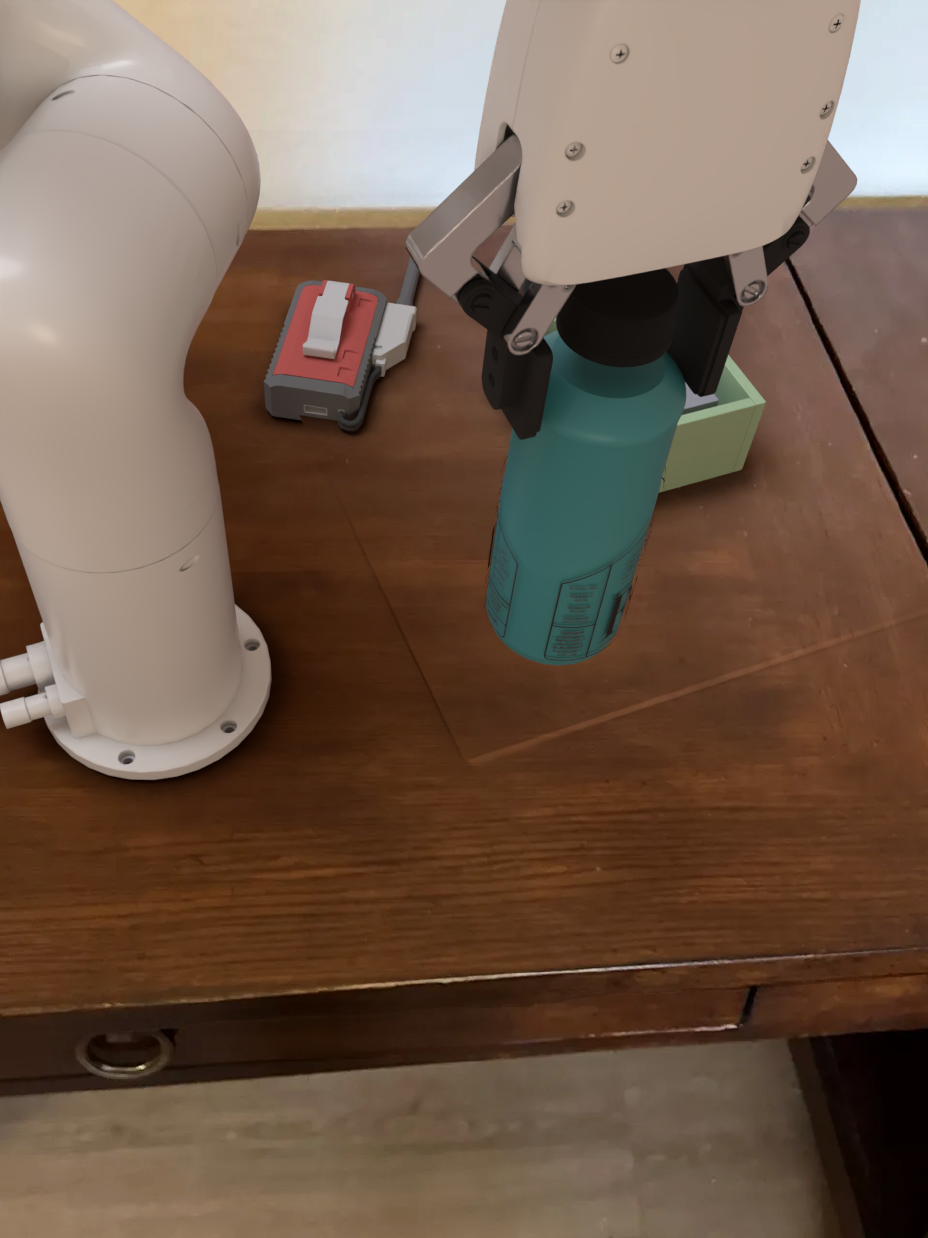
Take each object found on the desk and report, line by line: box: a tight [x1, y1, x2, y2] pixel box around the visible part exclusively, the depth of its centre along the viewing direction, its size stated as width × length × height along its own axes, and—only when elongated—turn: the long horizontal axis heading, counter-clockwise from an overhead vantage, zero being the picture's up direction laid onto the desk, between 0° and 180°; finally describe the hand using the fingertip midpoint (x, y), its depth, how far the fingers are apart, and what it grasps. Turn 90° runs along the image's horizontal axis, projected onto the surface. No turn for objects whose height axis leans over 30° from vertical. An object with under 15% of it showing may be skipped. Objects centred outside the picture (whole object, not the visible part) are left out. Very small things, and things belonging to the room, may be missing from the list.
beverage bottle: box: [482, 268, 686, 666], centre depth 49 cm, size 6×7×20 cm
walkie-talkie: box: [263, 255, 421, 432], centre depth 85 cm, size 9×4×20 cm
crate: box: [544, 318, 767, 494], centre depth 80 cm, size 12×12×7 cm
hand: (601, 388), depth 45 cm, fingers closed on beverage bottle, 6 cm apart
